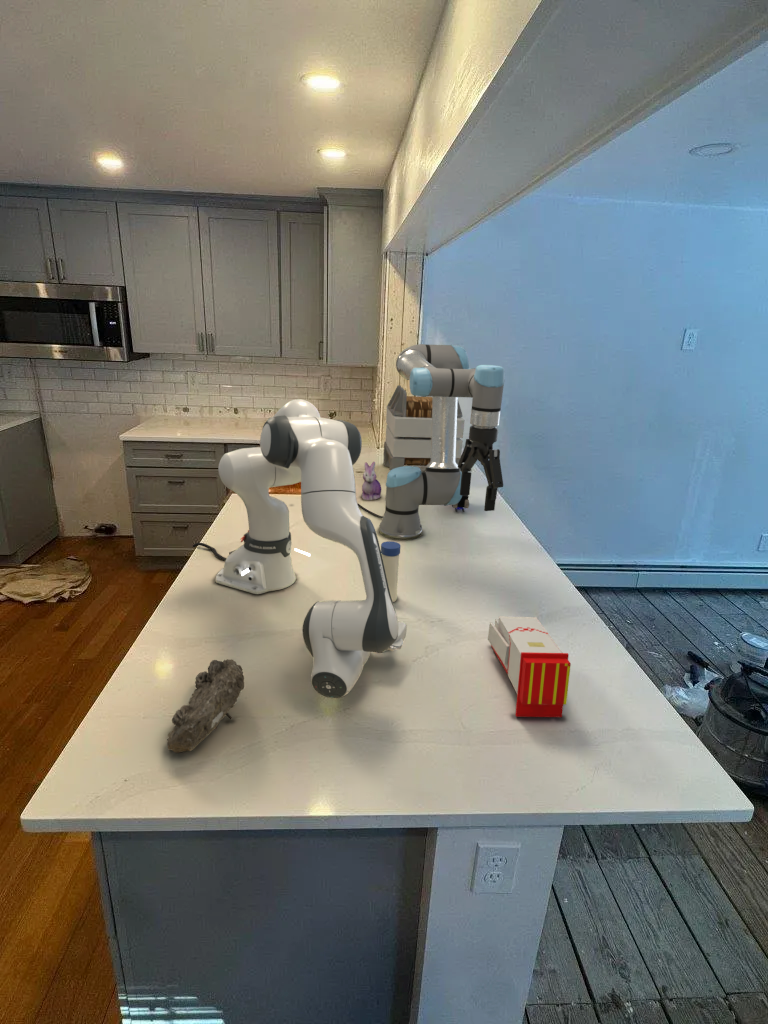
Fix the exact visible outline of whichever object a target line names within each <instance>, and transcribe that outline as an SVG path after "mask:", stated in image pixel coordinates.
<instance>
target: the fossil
mask: <svg viewBox="0 0 768 1024" xmlns="http://www.w3.org/2000/svg"><path fill="white" fill-rule="evenodd" d="M243 670H244V669H243V667H242V665H240V664H237V662H236V661H235V660H234V659H232V658H231V659H227V658H226V659H224V660H223V661H222V660H217V659H212V660H211V661H210V663H209V665H208V666H207V671H201V672H199V673H198V674H197V675H196V676H195V680H194V684H195V685H194V687H195V689H194V690H193V693H192V694H191V697H190V698H189V700H188V704H184V705H182V706H181V707H180V709H177V710H176V711H175V713H174V715H173V716H172V718H171V723H172V724H173V727H172V730H171V731H170V732H168V734H167V738H166V741H167V742H166V745H167V749H168V750H169V751H173V752H174V753H176V754H178V753H182V752H188V751H189V752H192V751H193V750H195V748H196V747H197V746H199V744H200V743H201V742H203V741H204V740H205V739H206V738H207V737H208V736H209V735H210V734H211V733H212V732H214V730H215V729H217V727H218V726H219V724H220V722H221V721H222V720H223V719H224V718H225V716H226V717H227V719H229V720H233V717H232V715H230V714H229V710H230V709H231V708H234V706H235V704H236V703H237V702H238V699H239V697H240V695H241V693H242V691H243V690H245V689H244V688H245V675H244V671H243Z"/></svg>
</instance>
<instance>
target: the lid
mask: <svg viewBox="0 0 768 1024" xmlns="http://www.w3.org/2000/svg"><path fill="white" fill-rule="evenodd" d="M380 550H381V554H383V555H386V556H397V555H399V556H400V554H401V544H400V542H397V541H394V540H393V541H389V540H388V541H383V542H382V543H381V544H380Z"/></svg>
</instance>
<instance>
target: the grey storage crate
mask: <svg viewBox="0 0 768 1024" xmlns="http://www.w3.org/2000/svg"><path fill="white" fill-rule="evenodd" d="M407 394H408V393H407V390H406V389H404V388H403V387H402V385H399V384H398V385H397V386H396V388H395V390H394V392H393V394H392V395H391V398H390V400H389V402H388V404H387V405H386V413H385V414H386V415H385V423H386V428H385V438H384V442H383V466H384V467H388V468H389V471H391V470H392V469H394V468H397V467H402V466H412V467H413V466H415V467H426V466H427V465H428V464H429V463H430V460H431V428H432V396H426V397H421V396H414V395H412V396H411V395H407ZM464 429H465V419H464V418H463V411H462V408H461V405H460V402H459V401H458V402H457V429H456V456H455V462H456V464H457V465H458V463H459V460H460V458H461V455H462V453H463V442H464V441H463V440H462V439H463V438H464V431H465V430H464ZM459 471H461V470H460V468H459Z"/></svg>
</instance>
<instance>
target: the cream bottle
mask: <svg viewBox="0 0 768 1024" xmlns="http://www.w3.org/2000/svg"><path fill="white" fill-rule="evenodd" d="M381 554H382V553H381ZM382 559H383V564H384V568H385V573H386V577H387V582H388V587H389V591H390V595H391V599H392V602H393V603H394V602H396V601H397V600H398V584H399V567H400V554H399V555H397V556H386V555H383V554H382Z"/></svg>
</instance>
